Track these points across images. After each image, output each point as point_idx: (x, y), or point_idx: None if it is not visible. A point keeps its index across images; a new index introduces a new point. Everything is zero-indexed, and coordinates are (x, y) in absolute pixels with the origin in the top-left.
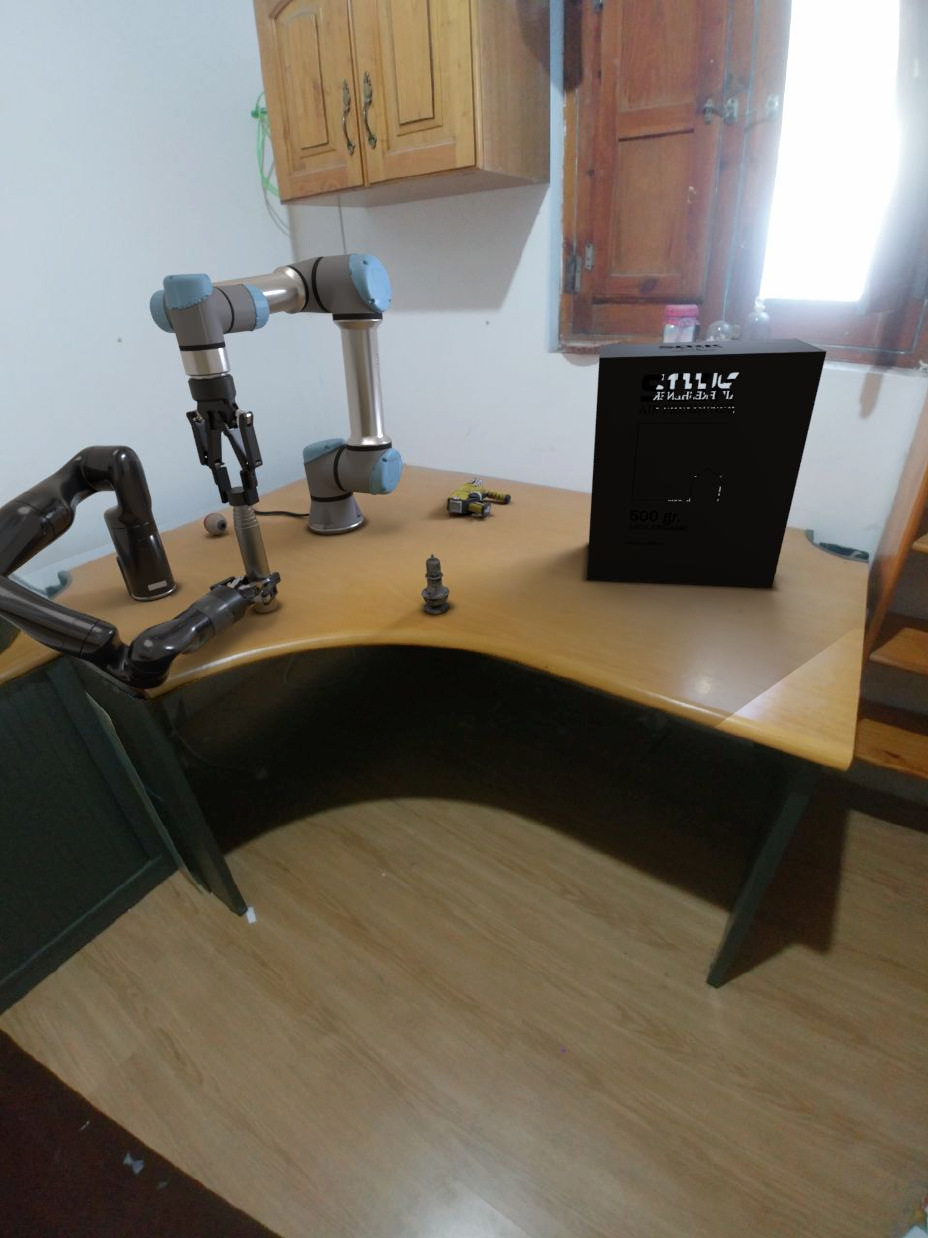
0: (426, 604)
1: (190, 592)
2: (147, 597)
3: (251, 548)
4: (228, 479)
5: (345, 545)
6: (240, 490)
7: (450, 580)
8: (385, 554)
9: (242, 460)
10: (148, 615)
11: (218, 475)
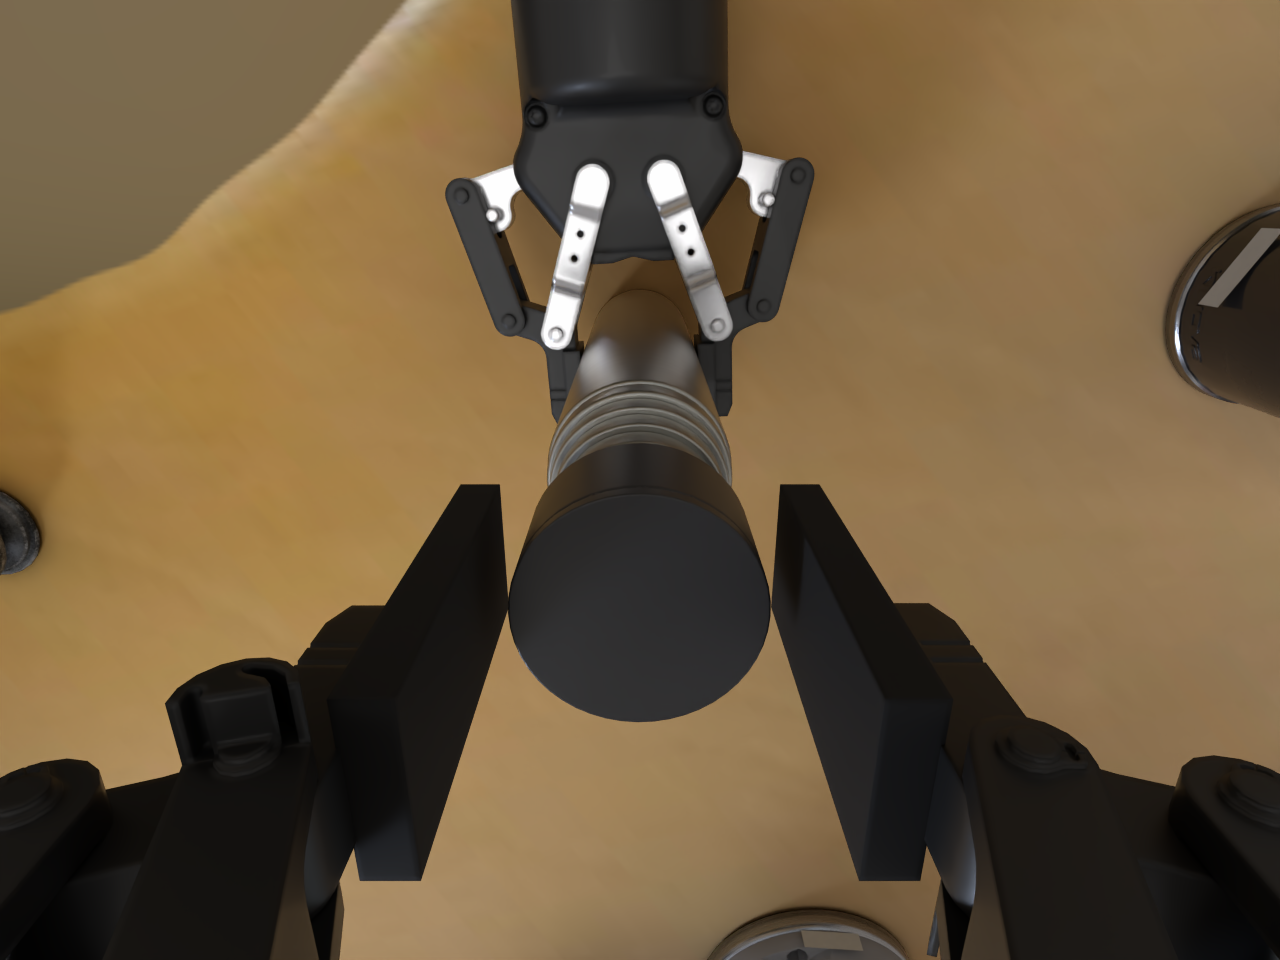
0: (18, 527)
1: (1081, 353)
2: (1254, 218)
3: (589, 365)
4: (817, 727)
5: (663, 856)
6: (583, 599)
7: (97, 718)
8: (462, 829)
9: (151, 884)
10: (1155, 101)
11: (859, 658)
